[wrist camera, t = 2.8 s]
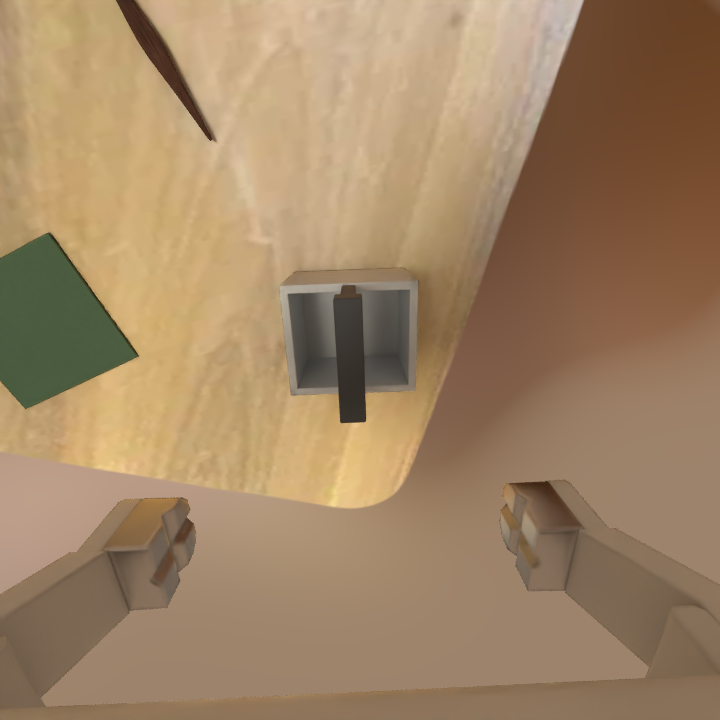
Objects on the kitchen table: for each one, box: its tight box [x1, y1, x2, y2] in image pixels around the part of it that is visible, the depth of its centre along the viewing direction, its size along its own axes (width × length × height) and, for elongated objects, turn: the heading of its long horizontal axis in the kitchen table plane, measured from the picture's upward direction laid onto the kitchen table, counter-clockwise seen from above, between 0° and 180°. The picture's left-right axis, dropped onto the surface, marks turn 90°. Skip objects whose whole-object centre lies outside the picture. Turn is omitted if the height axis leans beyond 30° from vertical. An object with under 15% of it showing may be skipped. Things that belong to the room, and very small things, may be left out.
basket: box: [279, 268, 418, 423], centre depth 23 cm, size 8×7×10 cm
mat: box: [0, 233, 138, 409], centre depth 27 cm, size 11×10×1 cm
